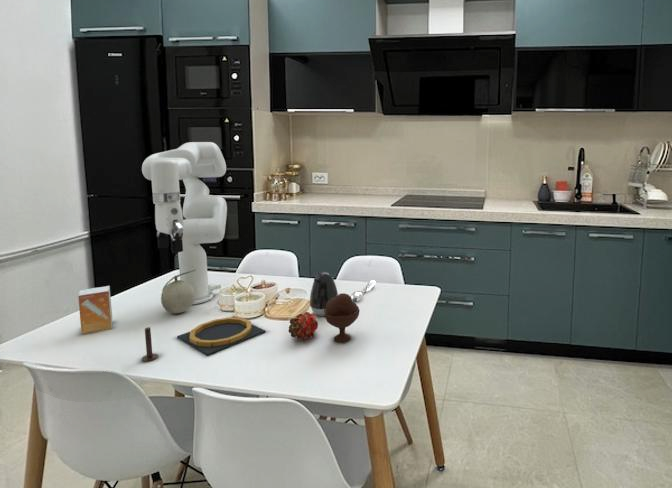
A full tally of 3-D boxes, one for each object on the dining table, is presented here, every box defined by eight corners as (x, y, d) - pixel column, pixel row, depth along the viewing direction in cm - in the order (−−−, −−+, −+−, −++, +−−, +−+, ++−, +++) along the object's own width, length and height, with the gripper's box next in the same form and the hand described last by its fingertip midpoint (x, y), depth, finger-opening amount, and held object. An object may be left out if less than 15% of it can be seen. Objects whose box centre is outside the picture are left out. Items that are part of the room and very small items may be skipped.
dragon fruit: (293, 351, 131) (308, 339, 142) (316, 336, 130) (328, 324, 142) (278, 328, 131) (294, 317, 143) (300, 312, 131) (314, 302, 143)
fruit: (153, 316, 153) (149, 275, 151) (181, 304, 163) (178, 266, 162) (175, 320, 149) (172, 278, 147) (202, 308, 160) (199, 269, 158)
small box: (81, 334, 139) (77, 295, 137) (83, 327, 144) (79, 289, 143) (112, 328, 143) (108, 290, 142) (113, 321, 148) (109, 285, 147)
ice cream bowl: (365, 333, 139) (364, 288, 137) (349, 350, 128) (347, 301, 126) (336, 329, 142) (335, 285, 140) (317, 344, 132) (316, 297, 130)
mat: (233, 317, 152) (233, 316, 151) (265, 332, 140) (265, 330, 140) (177, 337, 136) (176, 336, 136) (207, 356, 125) (207, 354, 125)
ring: (232, 317, 151) (232, 313, 151) (262, 330, 140) (262, 326, 140) (179, 335, 137) (179, 331, 136) (208, 352, 126) (207, 347, 126)
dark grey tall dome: (303, 316, 152) (302, 274, 150) (321, 305, 162) (319, 266, 160) (328, 321, 148) (327, 278, 147) (344, 309, 158) (343, 269, 156)
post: (154, 353, 127) (152, 324, 126) (160, 357, 124) (158, 327, 123) (139, 359, 124) (136, 328, 123) (145, 363, 121) (142, 332, 120)
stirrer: (367, 275, 184) (378, 276, 183) (368, 283, 185) (378, 284, 184) (348, 294, 165) (359, 295, 164) (348, 303, 166) (360, 304, 165)
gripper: (191, 198, 137) (195, 251, 139) (167, 194, 147) (170, 243, 149) (166, 201, 131) (170, 256, 133) (142, 197, 141) (146, 248, 143)
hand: (170, 249), depth 141 cm, fingers open, 9 cm apart
